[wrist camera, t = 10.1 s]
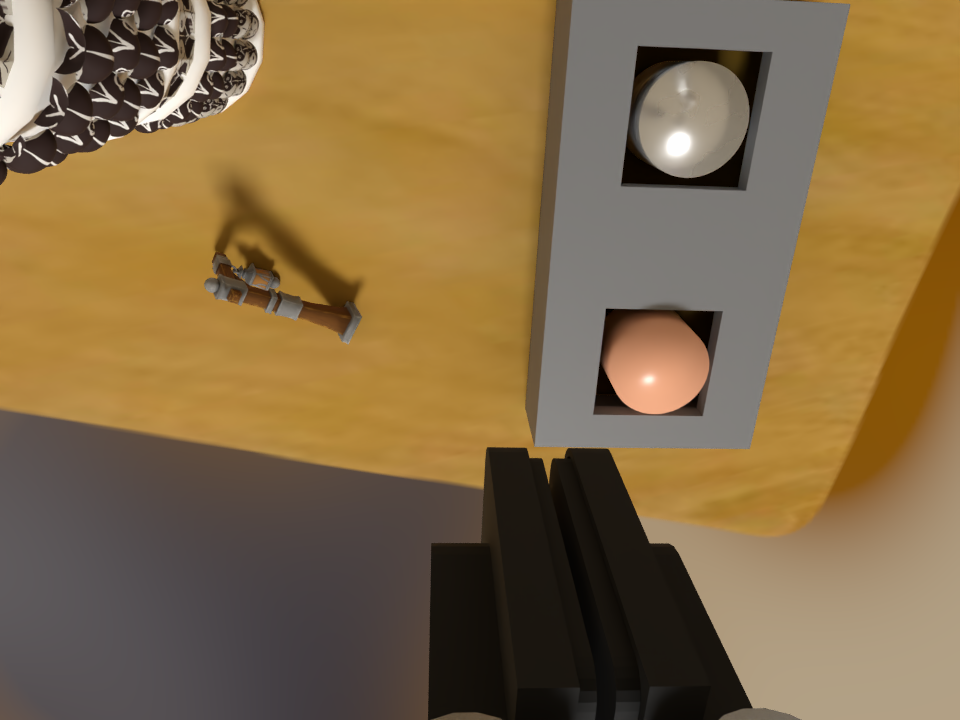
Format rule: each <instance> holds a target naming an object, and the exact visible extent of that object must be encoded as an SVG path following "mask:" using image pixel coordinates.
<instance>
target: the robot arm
mask: <svg viewBox="0 0 960 720" xmlns="http://www.w3.org/2000/svg"><path fill="white" fill-rule="evenodd" d="M429 651H430V652H429V701H428V720H800V719H798V718H796V717H794V716H792V715H790V714H786V713H782V712H778V711H774V710H769V709H766V708H757V709H755V708H752V706H751V703H750V701H749V699H748V697H747V695H746V693H745V691H744V689H743V687H742V685H741V683H740V681H739V678H738V676H737V674H736V672H735V670H734V668H733V666H732V664H731V662H730V660H729V658H728V655H727V653H726V651H725V649H724V647H723V645H722V643H721V641H720V639H719V637H718V635H717V633H716V630H715V629H714V626H713V624H712V622H711V620H710V618H709V616H708V614H707V612H706V610H705V608H704V606H703V604H702V601H701V599H700V597H699V595H698V593H697V591H696V589H695V587H694V585H693V583H692V580H691V578H690V576H689V574H688V572H687V570H686V568H685V566H684V564H683V562H682V560H681V558H680V556H679V554H678V552H677V551H676V549H675V547H674V546H672V545H670V544H650V543H649V541H648V539H647V536H646V534H645V532H644V529H643V527H642V525H641V522H640V520H639V518H638V515H637V513H636V511H635V508H634V506H633V504H632V501H631V499H630V497H629V494H628V492H627V490H626V487H625V485H624V483H623V480H622V478H621V476H620V473H619V471H618V469H617V467H616V464H615V462H614V460H613V457H612V455H611V453H610V451H609V450H608V449H592V448H568V449H567V451H566V454H565V459H559V458H553V460H552V463H551V469H550V480H549V483H548V479H547V475H546V471H545V467H544V463H543V460H542V459H541V458H529V454H528V451H527V448H496V447H487V450H486V460H485V479H484V497H483V517H482V535H481V543H432V544H431V597H430V648H429Z"/></svg>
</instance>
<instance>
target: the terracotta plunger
mask: <svg viewBox="0 0 960 720" xmlns="http://www.w3.org/2000/svg"><path fill="white" fill-rule="evenodd" d="M600 363H601V365H602V367H603V368H604V370H605V372H606V374H607V376H608V378H609V380H610V382H611V384H612V386H613V388H614V389H615V391H616V393H617V395H618V396H619V398H620V399H621V400H622V401H623V402H624V403H625V404H626V405H627V406H629V407H630V408H632V409H634V410H636V411H639V412H642V413H647V414H662V413H667V412H671V411H674V410H676V409H679V408H680V407H682V406H684V405H686V404H687V403H688V402H690V401H691V400H692V399H693V398H694V397H695V396H696V395H697V394H698V393H699V391H700V390H701V389H702V387H703V385H704V383H705V381H706V379H707V376H708V372H709V356H708V352H707V349H706V347H705V345H704V343H703V342H702V341H701V339H700V338H699V337H698V336H697V335H696V334H695V333H694V332H693V331H692V329H691V328H690V327H689V326H688V325H687V324H686V323H685V322H684V321H683V320H682V319H681V318H680V316H679V315H678V314H677V313H676V312H675V311H674V310H651V309H615V310H613V311H612V312H611V313H610V314H609V315H608V316H607V317H606V318H605V321H604V329H603V337H602V346H601V354H600Z"/></svg>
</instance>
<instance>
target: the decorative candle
mask: <svg viewBox="0 0 960 720" xmlns="http://www.w3.org/2000/svg"><path fill="white" fill-rule="evenodd" d="M263 43H264V20H263V17H262V14H261V11H260V7H259V4H258V1H257V0H0V185H1V184H2V183H3V182H4V180H5V179H6V176H7V169H9V170H11V171H14V172H17V173H23V174H30V173H35V172H38V171H40V170H42V169H44V168H45V167H50V166H54V165H57V164H59V163H61V162H62V161H63V160H64V159H65V158H66V157H67V155H68V154H73V153H76V152H92V151H95V150H97V149H99V148H100V147H102V146H103V145H104V144H105V143H106V142H107V140H111V139H115V138H120V137H124V136H125V135H127V134H128V133H130V132H131V131H132V130H133V129H134V128H135V129H136V130H137V131H139V132H142V133H152V132H155V131H157V130H158V129H166V128H169V127H171V126H173V127H177V126H182V125H185V124H187V123H192V122H195V121H197V120H199V119H200V118H205V117H208V116H210V115H216V114H218V113H220V112H223V111H224V110H225V109H227V108H228V107H229V106H230V105H232V104H233V103H234V102H235V101H237V100H238V99H239V98H240V97H242V96H243V95H244V94H245V93H247V92H248V90H249V88H250V86H251V84H252V82H253V79H254V77H255V75H256V73H257V71H258V69H259V67H260V65H261V63H262V61H263ZM12 141H15V142H14V143H13V145H12V146H9V145H5V144H6V143H7V142H12Z"/></svg>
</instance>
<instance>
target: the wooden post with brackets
mask: <svg viewBox="0 0 960 720" xmlns="http://www.w3.org/2000/svg"><path fill="white" fill-rule="evenodd" d="M212 263H213V271H214V273H215V274H217V276H218V278H217V279H215V278H209V279H207V280H206V281H205V283H204V286H205V289H206V290H207V291H209V292H212V293H214V296H215V298H216V299H222V300H225V301H228V302H232V303H236V304H238V305H240V306H241V305H242V303H246V304H250V305H253V306H257V307H260V308H264V310H265V312H266V313H270V314H271V312H272V311H274V313H275V315H279V316H285V317H289V318H292V319H294V320H297V318H301V319H304V320H307V321H310V322H313V323H316V324H318V325H321V326H323V327H326V328H328V329H331V330H333V331H335V332H337V333H338V335H339V337H340V339H341V341H342V342H346V343H347V344H349V342H350V340H351V338H352V336H353V334H354V332H355V330H356V328H357V326H358V324H359V322H360V320H361V318H362V316H361V315H360V313H359V311H358V309H357V308H356V306H355V304H354V303H352V302H348V301H347V302H346V304H345V306H344V307H335V306H328V305H322V304H315V303H310V302H306V301H302V300H301V299H300V297H299V296H292V295H289V294H285V293H283V292H281V291H279V292H278V293H276V292H275V289H271V288H277V287H278V286H279V285H280V281H279V279H278V278H276V277H274V276H273V274H272V271H268V270H262V269H258V268H255V266H254V263H251V265H250V266H249V267H248V269H245V268H244V270H243V267H242V265H241V266H240V267H239V268H238V269H236V268H235V266H233V265H231V262H230V260H228V258H227V257H226V255H225V254H222V253H219V252H216V253H215V255H214V258H213V260H212ZM231 267H233V268H234V269H233V272H232V270H231ZM236 270H237V271H236ZM234 273H237V275H238V276H236V275H235V274H234ZM241 276H242V278H243V279H244V278H245V281H243V280H242V279H241ZM250 285H253V286H256V287H259V288H261V289H259V288H255V287H252V286H250ZM270 287H271V288H270ZM263 289H264V290H263Z"/></svg>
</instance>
